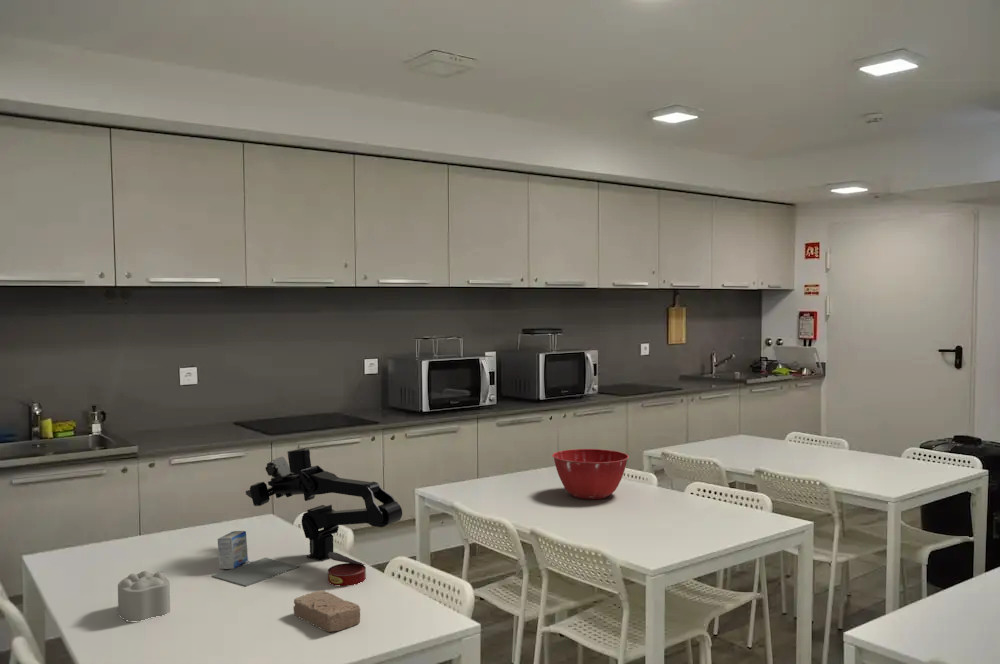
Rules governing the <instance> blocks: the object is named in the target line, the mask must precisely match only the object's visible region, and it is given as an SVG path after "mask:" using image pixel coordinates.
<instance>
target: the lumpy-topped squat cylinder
mask: <svg viewBox="0 0 1000 664" xmlns="http://www.w3.org/2000/svg"><path fill="white" fill-rule="evenodd" d="M170 586H171V585H170V580H169V579H168V578H167V577H166V576H165V574H164V573H163V572H162V571H156V572H154V573H150V572H149V571H147V570H142V571H140V572H139V573H136V574H135V573H130V574H128V576H127V577H124V578H123V579H121V580H120V581H119V582H118V583H117V605H118V607H117V610H118V614H117V615H118V616H119V615H120V616H121V617H122V618H124V619H125V620H128V621H141V620H145V619H148V618H151V617H156V616H160V617H163V616H162V615H164V616H166V615H165V614H167V613H168V614H169V613H170V612H171V595H170V593H171V592H170V588H171V587H170ZM168 614H167V615H168ZM120 616H119V617H120ZM121 617H120V618H121ZM122 618H121V619H122ZM156 618H157V617H156ZM151 619H152V618H151ZM125 620H124V621H125ZM148 620H149V619H148ZM145 621H146V620H145Z"/></svg>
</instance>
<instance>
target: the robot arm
mask: <svg viewBox="0 0 1000 664" xmlns="http://www.w3.org/2000/svg"><path fill="white" fill-rule="evenodd" d="M286 454H287V459H288V462H287V460H286V458H285V457H284V456H280V457H277V458H274V459H273V460H271V461H270V462H269V461H268V462H267V463H266V466H265V469H264V470H265V471H266V473H267V475H268V476H270V477H272V478H270V481H267V484H266V483H265V481H259V482H256V483H254V484H252V485H250V486H249V489H247V490H245V495H246V496H247V497H249V498H250V499H251V500H252V503H253V506H254V507H260V506H263V505H266V504H267V503H269V502H270V500H271V499H270V498H271V496H274V495H275V498H276V499H279V498H281V497H284V496H286V498H290V497H292V496H296V495H303V499H304V501H305V502H306V501H307V502H308V501H311V500H314V499H315V497H316V496H317V495H325V494H339V495H345V496H352V497H359V498H362V499H363V502H364V504H365V508H353V509H352V508H351V509H341V510H334V508H333V504H329V505H325V504H321V505H318V506H315V507H312V508H310V509H309V508H308V509H307V510H306V511H307V512H304V513H303V514H302V516H301V527H302V530H303V533H304V536H305V539H308V540H309V554H307V555H306V558H307V559H308V558H309V559H313V560H317V561H321V562H323V561H324V560H327V559H330V558H329V557H328V554H329V552H331V553H332V552H334V534H336V533H338V531H339V528H340V526H345V525H346V526H350V525H360V524H361V525H362V524H367V525H369V526H372V527H376V528H384V527H385V528H386V527H387V526H390V525H391V524H392V525H393V524H394V523H397V522H399V521H401V519H402V517H403V509H402V506H401V505H400V504H399V502H398V501H397V500H396V499H395V498H394V496H393V495H391V494H390V493H389V492H388V491H386V490H385V489H383V488H382V487H381V485H380V484H379V482H376V481H365V480H358V479H350V478H343V477H339V476H337V475H336V474H334V473H332V472H330V471H326V470H324V469H323V468H321V466H320V465H313V466H312V463H311V461H312V460H311V451H310V449H309V448H305V447H304V448H297V449H292V450H288V451H286ZM268 486H270V487H268ZM375 499H376V500H377V501H379V502H380V503H381V504H380V505H378V504H377V503H376V501H375Z"/></svg>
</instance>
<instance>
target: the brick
mask: <svg viewBox="0 0 1000 664" xmlns="http://www.w3.org/2000/svg"><path fill="white" fill-rule="evenodd" d="M293 604H294V606H293V614H295V615H296V617H297V616H298V617H297V618H299V617H300V618H299V619H301V618H303V619H302V620H303V621H305V620H306V621H305V622H307V621H308V622H307V623H309V622H310V623H309V624H311V623H312V624H311V625H313V624H314V625H313V626H315V627H316V626H317V627H316V628H318V627H320V628H321V629H320V628H319V629H320V630H322V629H323V630H322V631H325V632H330V633H331V632H332V633H333V632H337V631H342V630H344V629H347V628H348V629H349V628H351V627H353V626H355V625H359V624H360V622H361V608H360V605H359V604H357V603H355V602H352V601H349V600H344V599H342V598H341V597H339V596H337V595H334V594H333V593H330V592H328V591H325V590H316V591H314V592H311V593H306V594H305V595H304V594H303V595H301V596H299V597H296V598H294V600H293ZM295 615H294V616H295Z"/></svg>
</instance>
